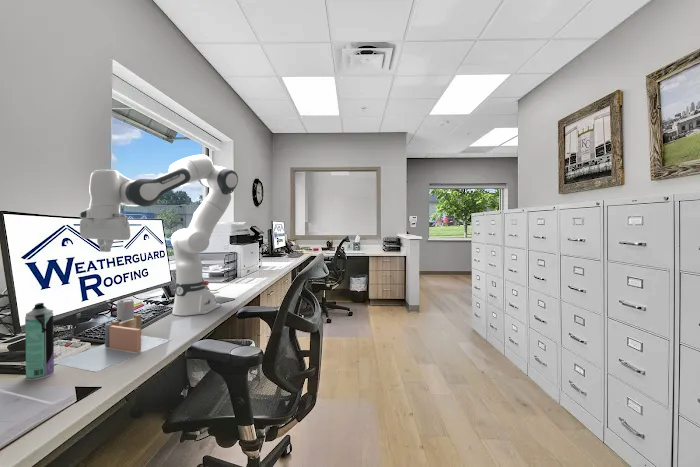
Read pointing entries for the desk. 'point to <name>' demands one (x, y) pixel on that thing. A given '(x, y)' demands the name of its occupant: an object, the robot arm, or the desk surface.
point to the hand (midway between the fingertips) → (105, 251)
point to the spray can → (39, 342)
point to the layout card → (107, 355)
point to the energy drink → (125, 310)
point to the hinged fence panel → (122, 338)
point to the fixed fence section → (129, 322)
